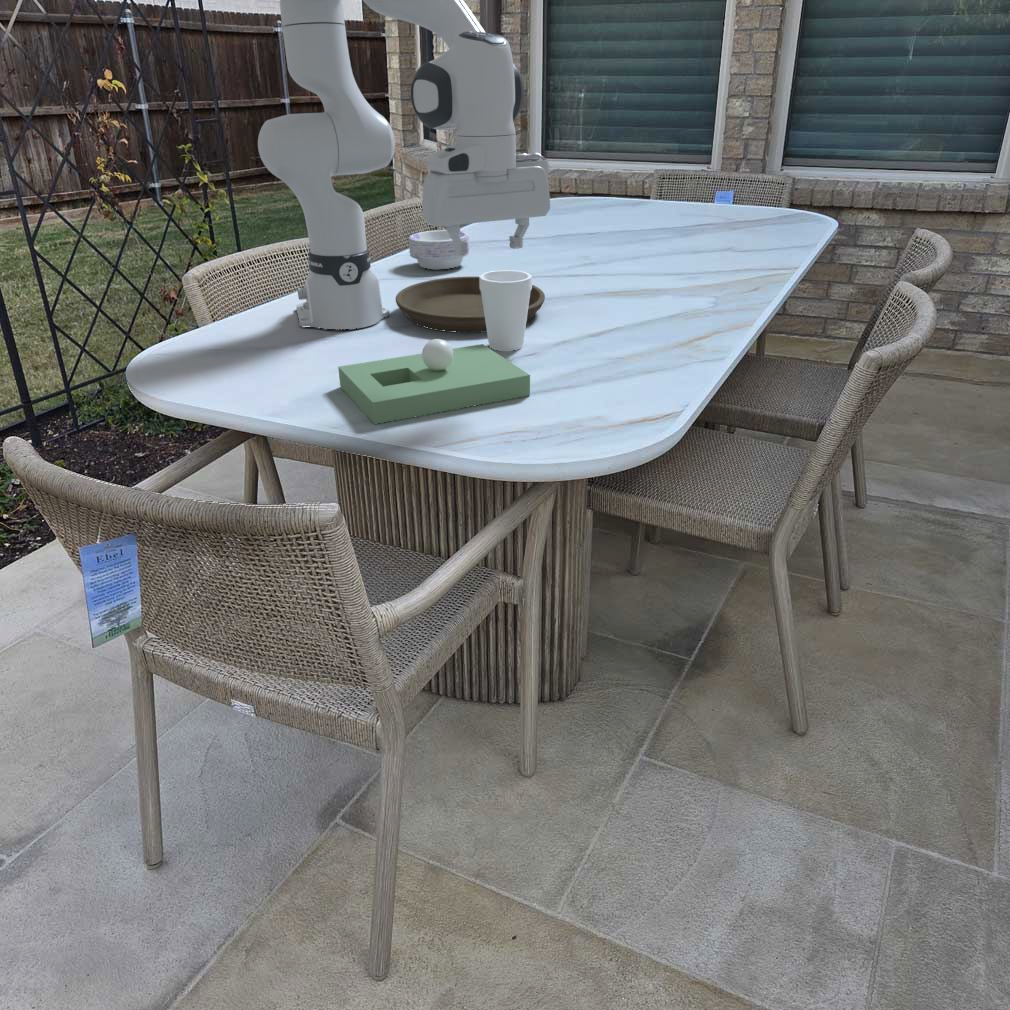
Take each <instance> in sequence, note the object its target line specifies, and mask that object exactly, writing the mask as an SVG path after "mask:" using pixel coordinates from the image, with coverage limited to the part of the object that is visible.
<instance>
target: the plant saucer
mask: <svg viewBox="0 0 1010 1010" xmlns="http://www.w3.org/2000/svg"><path fill="white" fill-rule="evenodd" d="M545 299H546V296H545V293H544V292H543V290H542V289H541V288H539V286H537V285H534V284H532V289H531V291H530V299H529V306H528V314H527V321H526V323H527V322H529V321H530V320H531V319H532V318H533V317H534V315H535V313H537V312H538V311H539V310H540V309H541V308H542V306H543V304H544V302H545ZM395 302H396V303H395V304H396V306H397V307H398V308H399V310H400V311H401V312H402V314H404V315H406V316H407V318H408V320H409V321H411V322H412V323H413V322H414V323H413V324H415V323H416V324H415V325H417V324H418V325H417V326H419V325H421V326H425V327H428V328H432V329H431V330H433V329H437V330H436V331H438V330H445V331H444V332H446V331H456V332H455V333H482V332H481V331H487V329H486V322H485V315H484V309H483V302H482V295H481V291H480V286H479V276H453V277H443V278H436V279H435V278H434V279H430V280H425V281H421V282H418V283H415V284H412V285H409V286H407V287H405V288H403V289H401V290H400V291H399V292H398V293H397V294H396V296H395ZM528 320H529V321H528ZM421 326H420V327H421ZM425 327H424V328H425ZM428 328H427V329H428Z"/></svg>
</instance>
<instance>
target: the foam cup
mask: <svg viewBox="0 0 1010 1010" xmlns="http://www.w3.org/2000/svg"><path fill="white" fill-rule="evenodd" d="M478 277H479V286H480V291H481V295H482V302H483V309H484V315H485V322H486V329H487V332H486V335H487V341H488V345H489V346H490V347H489V349H491V348H492V349H491V350H493V349H494V351H496V350H498V351H497V352H513V350H515V351H519V350H520V348H521V349H523V347H524V343H525V335H526V327H527V322H528V321H527V314H528V306H529V299H530V291H531V289H532V285H533V275H532V274H530V272H526V271H523V270H513V269H512V270H511V269H510V270H509V269H503V270H502V269H501V270H500V269H499V270H492V271H487V272H486V271H485V272H484V273H483V272H482V273H481V274H480V275H479V276H478ZM526 321H527V322H526ZM518 349H519V350H518Z"/></svg>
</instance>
